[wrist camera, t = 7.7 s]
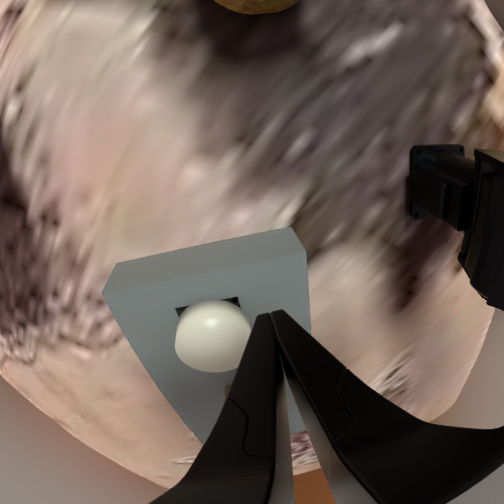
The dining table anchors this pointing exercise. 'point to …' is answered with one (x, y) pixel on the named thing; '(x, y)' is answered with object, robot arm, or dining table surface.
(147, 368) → the mount
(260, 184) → the dining table surface
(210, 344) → the knob
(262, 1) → the onion
